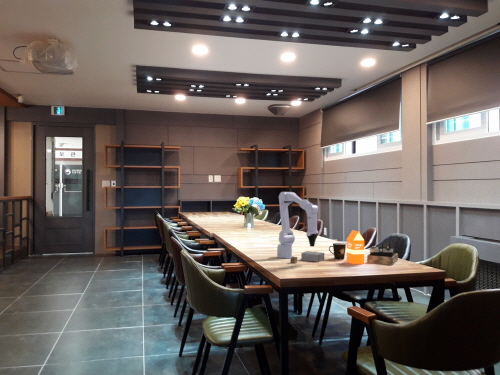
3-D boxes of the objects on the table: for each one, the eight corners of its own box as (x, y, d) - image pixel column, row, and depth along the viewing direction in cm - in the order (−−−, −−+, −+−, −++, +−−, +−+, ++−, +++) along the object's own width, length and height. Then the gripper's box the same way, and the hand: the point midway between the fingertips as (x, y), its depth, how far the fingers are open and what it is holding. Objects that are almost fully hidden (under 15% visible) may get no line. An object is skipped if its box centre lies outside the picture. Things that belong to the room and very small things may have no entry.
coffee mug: (344, 257, 256) (345, 243, 256) (346, 260, 247) (347, 244, 247) (327, 257, 257) (327, 242, 257) (328, 259, 248) (328, 244, 248)
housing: (301, 259, 246) (301, 253, 246) (307, 257, 254) (307, 251, 254) (319, 261, 240) (319, 254, 240) (324, 259, 248) (324, 252, 248)
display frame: (367, 262, 240) (367, 255, 240) (374, 258, 256) (374, 251, 256) (392, 265, 232) (392, 257, 232) (397, 260, 248) (397, 253, 248)
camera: (388, 262, 248) (387, 247, 250) (395, 262, 237) (394, 246, 239) (366, 262, 248) (365, 246, 250) (372, 262, 237) (371, 246, 239)
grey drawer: (301, 259, 245) (301, 253, 245) (307, 257, 253) (307, 251, 253) (317, 261, 239) (317, 255, 239) (323, 259, 248) (323, 253, 248)
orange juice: (352, 263, 234) (353, 231, 234) (346, 261, 242) (346, 230, 243) (364, 263, 235) (364, 231, 236) (357, 261, 244) (357, 230, 244)
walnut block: (290, 262, 235) (290, 257, 235) (292, 262, 237) (292, 256, 238) (295, 263, 233) (295, 257, 233) (297, 262, 236) (297, 257, 236)
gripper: (314, 225, 227) (314, 248, 226) (322, 224, 239) (322, 245, 239) (303, 225, 230) (303, 247, 230) (311, 223, 243) (311, 244, 243)
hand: (312, 246), depth 235 cm, fingers closed
